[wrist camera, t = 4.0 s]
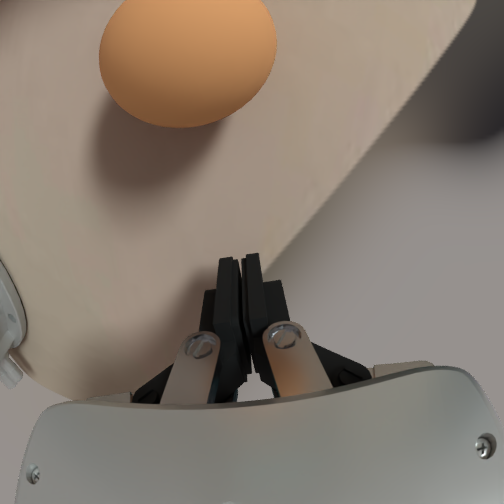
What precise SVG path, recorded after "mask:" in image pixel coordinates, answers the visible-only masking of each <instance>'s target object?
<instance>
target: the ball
mask: <svg viewBox="0 0 504 504" xmlns="http://www.w3.org/2000/svg"><path fill="white" fill-rule="evenodd" d="M276 47H277V39H276V31H275V27H274V24H273V20H272V18H271V16H270V13H269V11H268V10H267V8H266V7H265V5H264V4H263V2H262V1H261V0H125V1H124V2H123V3H122V4H121V6H120V7H119V8H118V9H117V10H116V12H115V13H114V14H113V16H112V17H111V19H110V20H109V22H108V24H107V26H106V28H105V31H104V33H103V36H102V39H101V44H100V50H99V65H100V72H101V76H102V79H103V82H104V84H105V87H106V88H107V90H108V92H109V94H110V95H111V96H112V98H113V99H114V100H115V101H116V103H117V104H118V105H119V106H120V107H121V108H123V109H124V110H125V111H126V112H128V113H129V114H131V115H132V116H134V117H136V118H138V119H140V120H142V121H144V122H147V123H150V124H153V125H157V126H162V127H171V128H190V127H196V126H202V125H206V124H209V123H213V122H215V121H218V120H220V119H223V118H225V117H227V116H229V115H231V114H233V113H234V112H236V111H237V110H239V109H240V108H242V107H243V106H244V105H245V104H246V103H248V102H249V101H250V100H251V99H252V98H253V97H254V96H255V95H256V94H257V93H258V91H259V90H260V89H261V87H262V86H263V85H264V83H265V81H266V80H267V78H268V76H269V74H270V72H271V69H272V66H273V64H274V60H275V55H276Z"/></svg>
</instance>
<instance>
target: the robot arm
mask: <svg viewBox="0 0 504 504" xmlns="http://www.w3.org/2000/svg"><path fill="white" fill-rule="evenodd" d="M241 264H242V277H241V272H240V267H239V262H238V259H236V260H233V257H227V258H220V259H219V267H218V276H217V286H216V289H212V290H206V291H205V293H204V300H203V307H202V313H201V320H200V327H199V332H196V333H193V334H191V335H190V336H188V337H187V338H186V339H185V340H184V341H183V342H182V344H181V346H180V349H179V351H178V354H177V357H176V359H175V362H174V363H173V364H172V365H170V366H169V367H168V368H166V369H165V370H164V371H162V372H161V373H160V374H158V375H157V376H156V377H154V378H153V379H152V380H150V381H149V382H147V383H146V384H145V385H143V386H142V387H141V388H139V389H138V390H137V391H136V392H135V394H132V393H131V392H126V393H119V394H113V395H106V396H98V397H91V398H88V399H86V400H76V401H67V402H63V403H59V404H55V405H53V406H50V407H48V408H47V409H46V410H45V411H44V412H42V414H41V415H40V416H39V418H38V420H37V422H36V424H35V426H34V428H33V430H32V433H31V436H30V438H29V441H28V444H27V447H26V450H25V454H24V457H23V461H22V465H21V470H20V474H19V479H18V484H17V490H16V496H15V504H504V428H503V425H502V423H501V421H500V419H499V416H498V414H497V412H496V411H495V409H494V407H493V405H492V403H491V401H490V399H489V398H488V396H487V394H486V393H485V391H484V390H483V388H482V387H481V386H480V384H479V383H478V382H477V380H475V378H474V377H473V376H472V375H471V374H470V373H468V372H467V371H465V370H463V369H461V368H457V367H452V366H434V365H433V364H432V363H430V362H428V361H413V362H404V363H394V364H381V365H374V367H373V368H366V367H364V366H363V365H361V364H359V363H357V362H354V361H352V360H350V359H348V358H345V357H343V356H341V355H339V354H336V353H334V352H332V351H330V350H327V349H325V348H323V347H321V346H318V345H316V344H314V343H312V342H310V340H309V337H308V335H307V333H306V332H305V330H304V329H303V327H302V326H301V325H299V324H298V323H295V322H292V321H290V318H289V314H288V309H287V305H286V300H285V296H284V291H283V287H282V283H281V280H276V281H270V282H263V279H262V272H261V266H260V259H259V253H253V254H247V255H246V258H243V259H241ZM25 333H26V319H25V314H24V310H23V307H22V304H21V301H20V298H19V296H18V294H17V291H16V289H15V287H14V284H13V283H12V281H11V279H10V277H9V275H8V273H7V271H6V269H5V268H4V266H3V264H2V263H1V261H0V380H1V382H2V383H3V384H4V385H5V386H6V387H7V388H8V389H13V388H14V387H15V386H16V384H17V383H18V382H19V381H20V380H21V379H22V376H23V372H22V371H21V370H20V369H19V368H18V367H17V365H16V364H15V363H14V362H13V361H12V360H11V359H10V358H9V353H8V350H9V348H15V347H17V346H19V344H20V343H21V341H22V340H23V338H24V336H25ZM251 356H252V360H253V364H254V368H255V372H256V373H259V374H260V379H261V381H262V382H264V383H266V384H267V385H269V386H271V388H272V392H273V395H274V398H272V399H264V400H255V401H245V402H237V398H238V388H239V387H240V386H241V385H242V384H243V383H244V382H247V374H251V373H252V368H251Z"/></svg>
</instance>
